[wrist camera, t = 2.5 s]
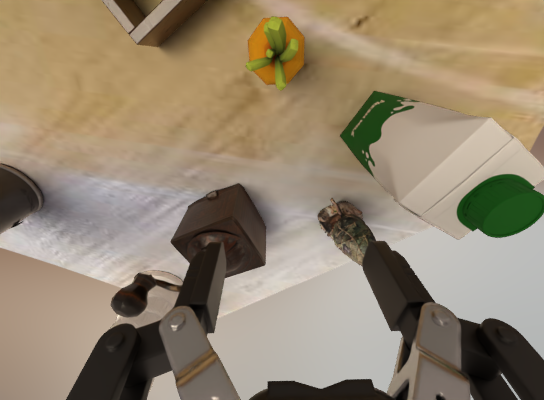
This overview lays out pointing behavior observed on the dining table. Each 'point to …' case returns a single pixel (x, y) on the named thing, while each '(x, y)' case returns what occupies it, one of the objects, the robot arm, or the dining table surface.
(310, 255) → the dining table surface
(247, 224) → the manual coffee grinder
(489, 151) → the milk carton
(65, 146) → the dining table surface
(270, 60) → the carrot
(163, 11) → the rack
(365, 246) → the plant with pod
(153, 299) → the decorative container
